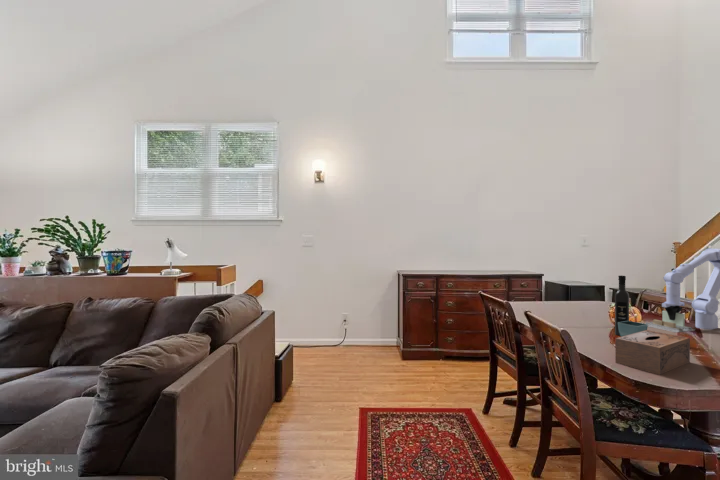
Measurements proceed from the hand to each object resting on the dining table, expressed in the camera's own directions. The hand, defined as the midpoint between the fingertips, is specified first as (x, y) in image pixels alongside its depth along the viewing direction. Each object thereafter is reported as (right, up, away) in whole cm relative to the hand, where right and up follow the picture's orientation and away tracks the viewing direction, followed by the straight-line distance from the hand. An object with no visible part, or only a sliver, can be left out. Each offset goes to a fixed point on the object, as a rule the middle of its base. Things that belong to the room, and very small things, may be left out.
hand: (673, 319), depth 197 cm
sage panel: (0, -4, 0) cm, 4 cm away
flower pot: (-40, -5, -24) cm, 47 cm away
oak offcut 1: (-8, -4, 0) cm, 8 cm away
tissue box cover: (-53, -6, -53) cm, 75 cm away
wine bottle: (-36, -5, -11) cm, 38 cm away
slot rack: (-3, -5, -1) cm, 6 cm away
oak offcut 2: (-6, -4, -5) cm, 8 cm away
